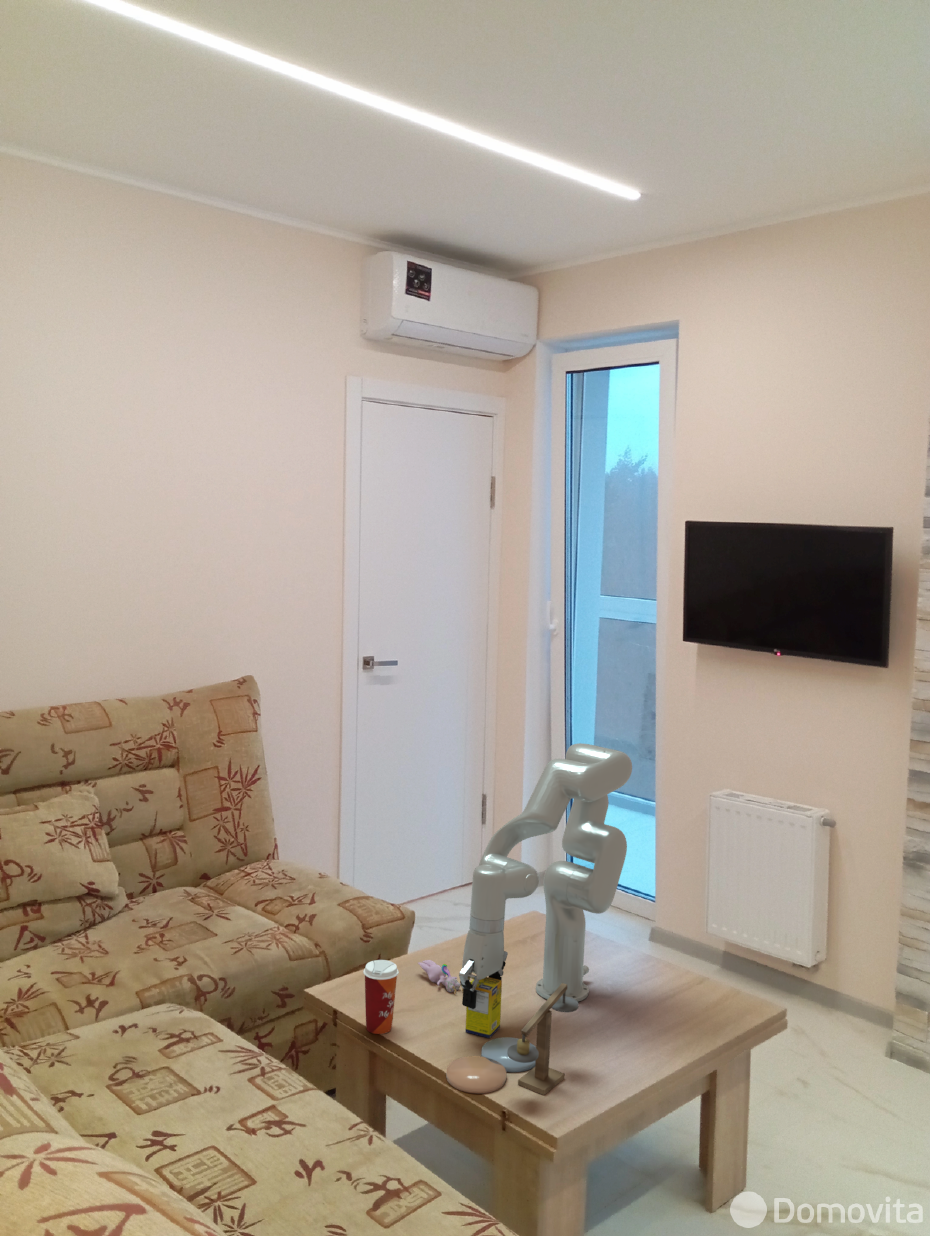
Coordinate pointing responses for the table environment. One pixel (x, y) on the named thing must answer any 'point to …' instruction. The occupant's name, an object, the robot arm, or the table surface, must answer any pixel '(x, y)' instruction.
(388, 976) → the paper cup
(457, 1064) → the peach flat disc
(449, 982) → the lilac plush figure
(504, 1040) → the blue-grey flat disc
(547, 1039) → the balance
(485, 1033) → the supplement box
